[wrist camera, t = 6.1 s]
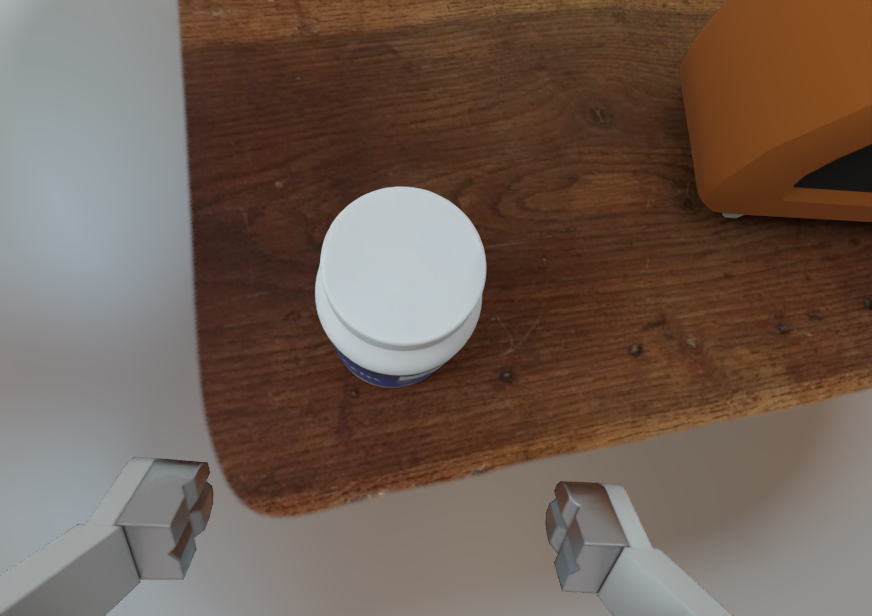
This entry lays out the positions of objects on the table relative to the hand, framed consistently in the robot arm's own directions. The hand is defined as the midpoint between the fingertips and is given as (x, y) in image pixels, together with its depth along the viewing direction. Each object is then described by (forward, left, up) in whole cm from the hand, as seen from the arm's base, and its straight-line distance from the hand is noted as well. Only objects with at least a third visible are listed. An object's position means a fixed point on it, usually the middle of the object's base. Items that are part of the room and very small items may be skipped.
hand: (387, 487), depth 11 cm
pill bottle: (-3, +5, -11) cm, 12 cm away
